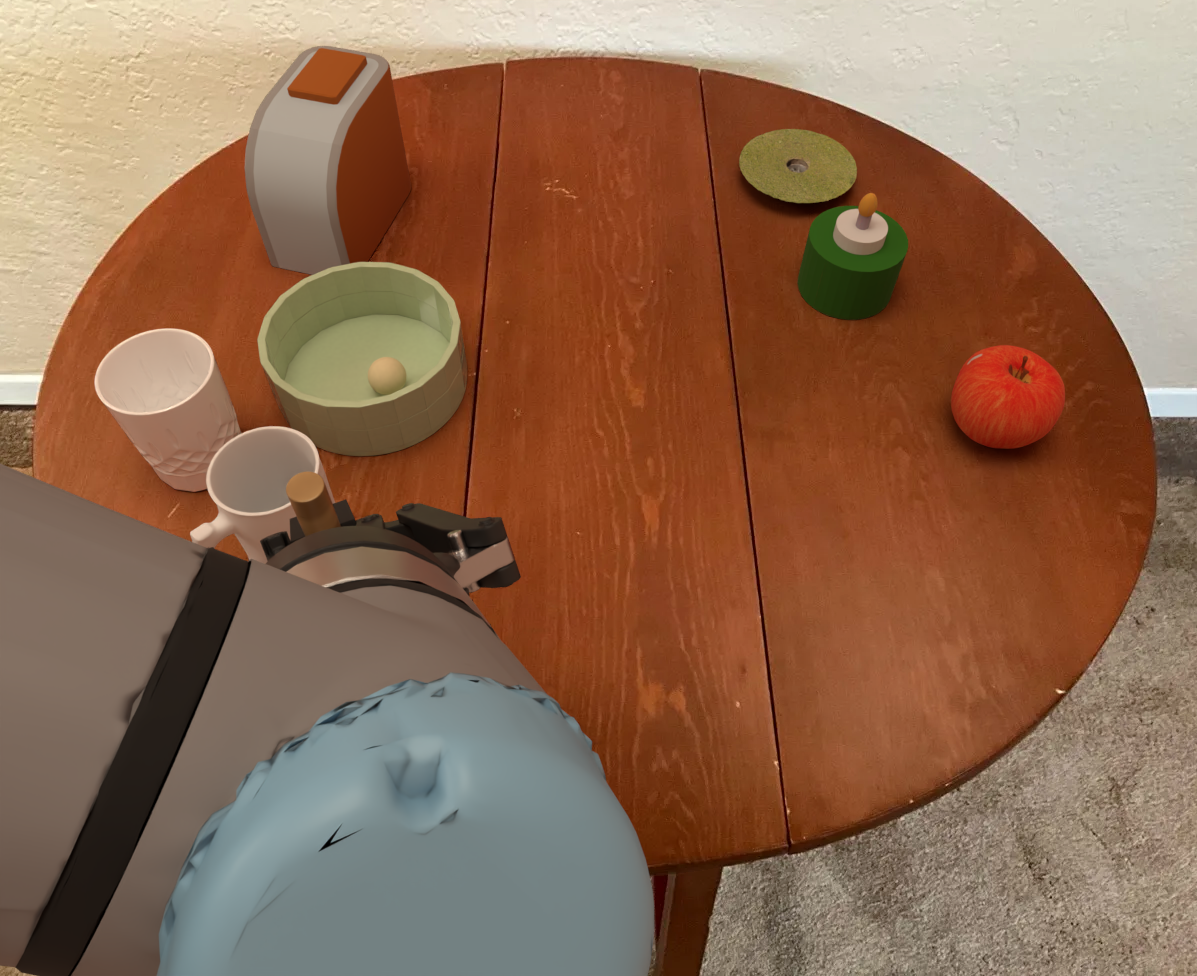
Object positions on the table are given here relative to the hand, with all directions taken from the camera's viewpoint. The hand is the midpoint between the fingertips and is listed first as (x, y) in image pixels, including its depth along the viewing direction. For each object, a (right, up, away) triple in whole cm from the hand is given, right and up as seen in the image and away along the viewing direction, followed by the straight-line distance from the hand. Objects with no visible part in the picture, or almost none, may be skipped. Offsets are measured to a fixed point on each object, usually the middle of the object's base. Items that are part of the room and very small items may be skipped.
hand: (327, 533), depth 50 cm
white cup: (-16, +5, +24) cm, 29 cm away
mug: (-7, -4, +18) cm, 20 cm away
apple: (+45, +7, +27) cm, 53 cm away
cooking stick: (+2, -8, +5) cm, 10 cm away
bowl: (-4, +11, +28) cm, 31 cm away
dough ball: (-3, +11, +26) cm, 28 cm away
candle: (+36, +20, +36) cm, 54 cm away
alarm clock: (-9, +27, +40) cm, 49 cm away
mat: (+33, +32, +44) cm, 64 cm away
